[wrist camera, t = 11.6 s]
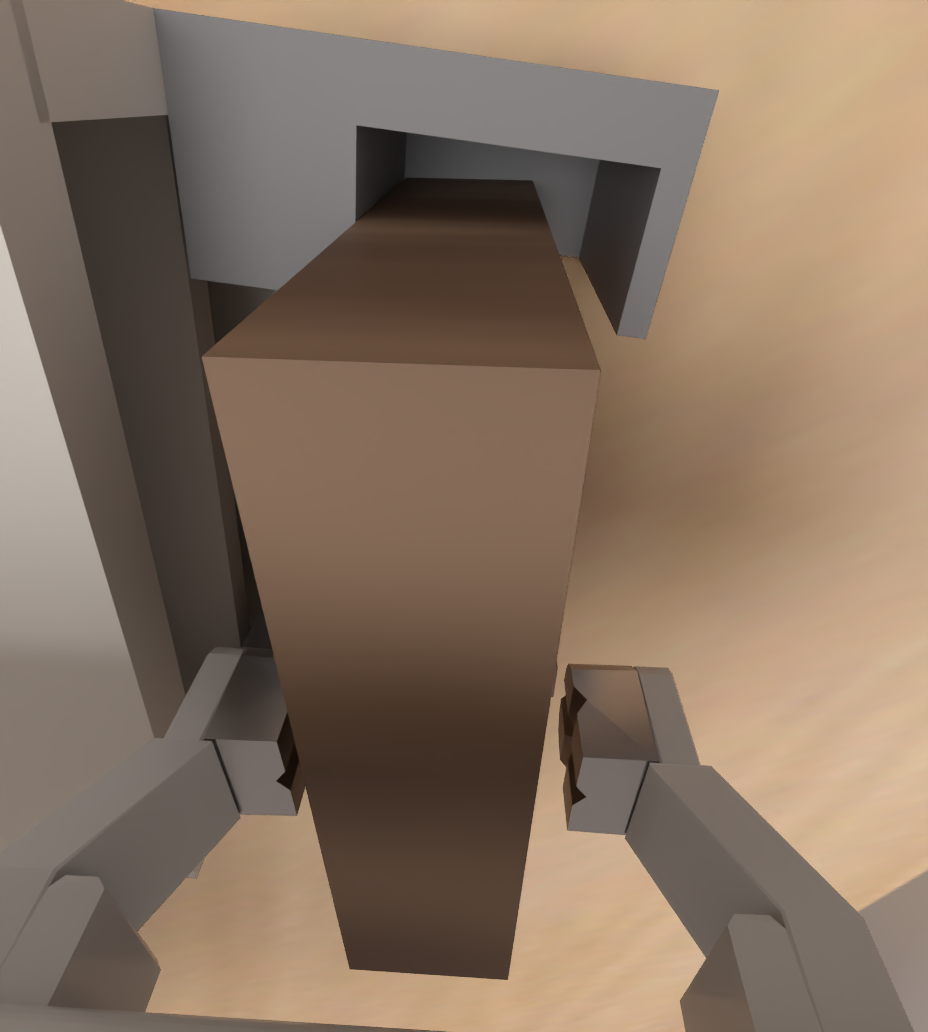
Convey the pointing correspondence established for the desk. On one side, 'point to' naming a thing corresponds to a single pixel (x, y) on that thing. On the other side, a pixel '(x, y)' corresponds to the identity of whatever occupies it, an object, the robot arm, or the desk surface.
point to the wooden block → (416, 549)
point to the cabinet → (225, 310)
